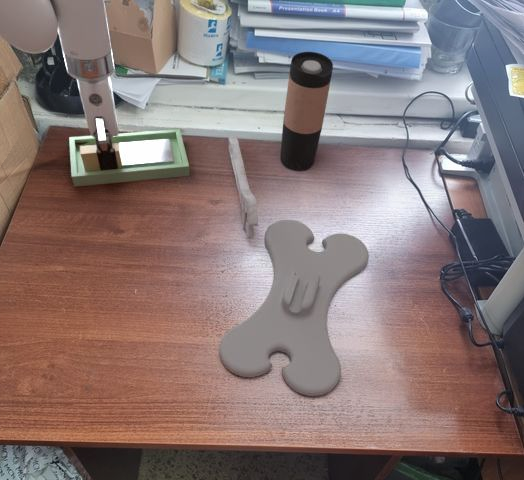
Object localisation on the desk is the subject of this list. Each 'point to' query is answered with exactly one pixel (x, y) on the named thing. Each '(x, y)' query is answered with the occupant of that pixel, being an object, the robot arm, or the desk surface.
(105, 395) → the desk surface
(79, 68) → the robot arm
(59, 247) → the desk surface
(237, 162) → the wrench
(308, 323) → the holder
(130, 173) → the tray
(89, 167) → the cleaver
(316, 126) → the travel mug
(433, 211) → the desk surface
